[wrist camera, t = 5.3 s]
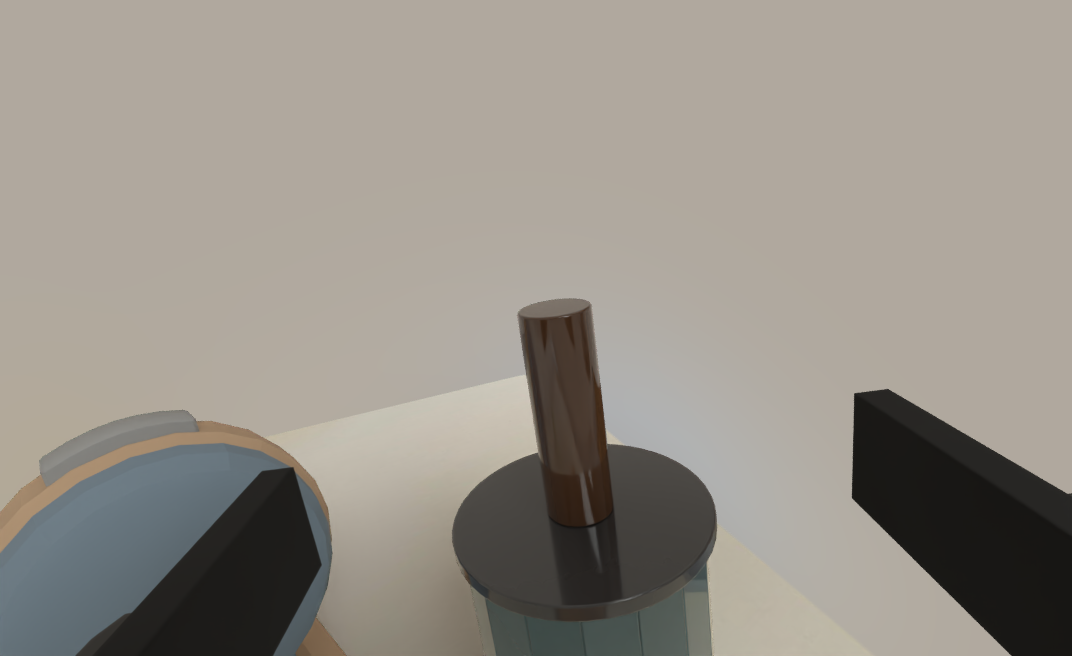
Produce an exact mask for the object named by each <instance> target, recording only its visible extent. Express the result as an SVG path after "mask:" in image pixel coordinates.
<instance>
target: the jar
mask: <svg viewBox="0 0 1072 656" xmlns="http://www.w3.org/2000/svg"><path fill="white" fill-rule="evenodd" d="M470 587H471V591H472V596H473V601H474V606H475V611H476V616H477V621H478V626H479V631H480V635H481V640H482V645H483V650H484V655H485V656H714V645H713V628H712V612H711V595H710V579H709V562H708V560H707V562H706V564H705V565H704V567H703V568H702V569H701V570H700V572H699V573H698V574H697V575H696V577H694V578H693V579H692V580H691V581H690V582H689V583H688V584H687V585H686V586H685V587H683V588H682V589H681V590H679V591H678V592H676V593H675V594H673V595H672V596H670V597H669V598H667V599H665V600H663V601H661V602H659V603H657V604H655V605H653V606H651V607H648V608H645V609H643V610H640V611H637V612H634V613H632V614H628V615H623V616H619V617H615V618H611V619H604V620H597V621H588V622H561V621H547V620H542V619H537V618H532V617H527V616H524V615H521V614H517V613H514V612H511V611H509V610H507V609H504V608H502V607H500V606H498V605H496V604H494V603H492V602H491V601H489V600H488V599H486V598H485V597H483V596H482V595H481V594H480V593H478V592H477V591H476V590H475V589H474V588H473V587H472V586H471V585H470Z"/></svg>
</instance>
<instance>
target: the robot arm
mask: <svg viewBox="0 0 1072 656" xmlns="http://www.w3.org/2000/svg"><path fill="white" fill-rule="evenodd" d="M852 476H853V477H852V499H853V500H855V502H856V503H857V504H859V506H860V507H861V508H862V509H864V511H866V512H867V513H868V514H869V515H870V516H871V517H872V518H873V519H874V520H875V521H876V522H877V523H878V524H879V525H880V526H881V527H882V528H883V529H884V530H885V531H886V532H887V533H888V534H889V535H890V536H891V537H892V538H893V539H894V540H895V541H896V542H897V543H898V544H899V545H900V546H901V547H902V548H903V549H904V550H905V551H906V552H907V553H908V554H909V555H910V556H911V557H912V558H913V559H914V560H915V561H916V562H917V563H918V564H919V565H920V566H921V567H922V568H923V569H924V570H925V571H926V572H927V573H928V574H929V575H931V577H932V578H933V579H934V580H935V581H936V582H937V583H939V585H940V586H941V587H942V588H943V589H945V590H946V591H947V592H948V593H949V594H950V595H951V596H952V597H953V598H954V599H955V600H956V601H957V602H958V603H959V604H960V605H961V606H962V607H963V608H964V609H965V610H966V611H967V612H968V613H969V614H970V615H971V616H972V617H973V618H974V619H975V620H976V621H977V622H978V623H979V624H980V625H981V626H982V627H983V628H984V629H985V630H986V631H987V632H988V633H989V634H990V635H991V636H992V637H993V638H994V639H995V640H996V641H997V642H998V643H999V644H1000V645H1001V646H1002V647H1003V648H1004V649H1005V650H1006V651H1007V652H1008V653H1009V654H1010V655H1011V656H1072V493H1071V494H1067V493H1065V492H1063V491H1062V490H1060V489H1058V488H1057V487H1055V486H1053V485H1051V484H1049V483H1048V482H1046V481H1044V480H1043V479H1041V478H1039V477H1038V476H1036V475H1034V474H1033V473H1031V472H1029V471H1027V470H1026V469H1024V468H1022V467H1021V466H1019V465H1017V464H1015V463H1014V462H1012V461H1010V460H1008V459H1007V458H1005V457H1003V456H1002V455H1000V454H998V453H997V452H995V451H993V450H991V449H990V448H988V447H986V446H985V445H983V444H981V443H979V442H978V441H976V440H974V439H973V438H971V437H969V436H967V435H966V434H964V433H962V432H960V431H959V430H957V429H956V428H954V427H952V426H950V425H949V424H947V423H945V422H944V421H942V420H940V419H938V418H937V417H935V416H933V415H932V414H930V413H928V412H926V411H925V410H923V409H921V408H920V407H918V406H916V405H914V404H913V403H911V402H909V401H907V400H906V399H904V398H902V397H901V396H899V395H897V394H896V393H894V392H892V391H890V390H889V389H885V390H877V391H869V392H862V393H855V394H854V434H853V475H852ZM321 566H322V563H321V560H320V556H319V553H318V550H317V546H316V543H315V539H314V536H313V532H312V529H311V525H310V522H309V518H308V515H307V512H306V508H305V505H304V501H303V498H302V494H301V491H300V487H299V484H298V481H297V477H296V474H295V470H294V467H288V468H281V469H273V470H265V471H261V472H260V473H259V474H258V476H257V477H256V478H255V479H254V480H253V481H252V482H251V483H250V484H249V485H248V486H247V488H246V489H245V490H244V491H243V492H242V493H241V494H240V495H239V496H238V497H237V498H236V500H235V501H234V502H233V503H232V504H231V505H230V506H229V507H228V508H227V509H226V510H225V512H224V513H223V514H222V515H221V516H220V517H219V518H218V519H217V520H216V521H215V522H214V524H213V525H212V526H211V527H210V528H209V529H208V530H207V531H206V532H205V533H204V534H203V536H202V537H201V538H200V539H199V540H198V541H197V542H196V543H195V544H194V545H193V546H192V548H191V549H190V550H189V551H188V552H187V553H186V554H185V555H184V556H183V557H182V558H181V560H180V561H179V562H178V563H177V564H176V565H175V566H174V567H173V568H172V569H171V570H170V572H169V573H168V574H167V575H166V576H165V577H164V578H163V579H162V580H161V581H160V582H159V584H158V585H157V586H156V587H155V588H154V589H153V590H152V591H151V592H150V593H149V594H148V596H147V597H146V598H145V599H144V600H143V601H142V602H141V603H140V604H139V605H138V606H137V608H136V609H135V610H134V611H133V612H132V613H127V614H124V615H123V616H121V617H120V618H119V619H117V620H116V621H115V622H113V623H112V624H111V625H109V626H108V627H107V628H105V629H104V630H103V631H101V632H100V633H99V634H97V635H96V636H94V637H93V638H92V639H91V640H90V641H89V642H88V643H87V644H86V645H85V646H84V647H83V648H82V649H81V650H80V651H79V652H78V653H77V654H76V655H75V656H273V655H274V653H275V651H276V649H277V648H278V646H279V644H280V642H281V640H282V638H283V636H284V635H285V633H286V631H287V629H288V627H289V625H290V623H291V622H292V620H293V618H294V616H295V614H296V612H297V610H298V609H299V607H300V605H301V603H302V601H303V599H304V597H305V595H306V594H307V592H308V590H309V588H310V586H311V584H312V582H313V581H314V579H315V577H316V575H317V573H318V571H319V569H320V568H321Z"/></svg>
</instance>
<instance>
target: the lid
mask: <svg viewBox="0 0 1072 656" xmlns="http://www.w3.org/2000/svg"><path fill="white" fill-rule="evenodd" d="M517 316H518V323H519V329H520V335H521V343H522V350H523V356H524V363H525V369H526V376H527V383H528V389H529V396H530V402H531V409H532V416H533V422H534V429H535V435H536V442H537V449H538V453H535V454H532V455H529V456H527V457H524V458H521V459H519V460H517V461H514V462H512V463H510V464H508V465H506V466H504V467H502V468H500V469H499V470H497V471H496V472H494V473H493V474H491V475H489V476H488V477H487V478H486V479H484V480H483V481H482V482H480V483H479V484H478V485H477V486H476V487H475V488H474V489H473V490H472V491H471V492H470V493H469V495H468V496H467V497H466V498H465V500H464V501H463V503H462V504H461V506H460V508H459V509H458V512H457V514H456V517H455V520H454V524H453V530H452V543H453V547H454V552H455V556H456V561H457V564H458V566H459V568H460V570H461V573H462V574H463V576H464V577H465V578H466V580H467V581H468V582H469V584H470V585H471V586H472V587H473V588H474V589H475V590H476V591H477V592H478V593H480V594H481V595H482V596H483V597H485V598H486V599H488V600H489V601H491V602H492V603H494V604H496V605H498V606H500V607H502V608H504V609H507V610H509V611H511V612H514V613H517V614H521V615H524V616H527V617H532V618H537V619H542V620H547V621H561V622H588V621H597V620H604V619H611V618H615V617H619V616H623V615H628V614H632V613H634V612H637V611H640V610H643V609H645V608H648V607H651V606H653V605H655V604H657V603H659V602H661V601H663V600H665V599H667V598H669V597H670V596H672V595H673V594H675V593H676V592H678V591H679V590H681V589H682V588H683V587H685V586H686V585H687V584H688V583H689V582H690V581H691V580H692V579H693V578H694V577H696V575H697V574H698V573H699V572H700V570H701V569H702V568H703V567H704V565H705V564H706V562H707V560H708V558H709V557H710V555H711V553H712V551H713V548H714V544H715V541H716V534H717V518H716V510H715V505H714V502H713V499H712V496H711V494H710V493H709V491H708V489H707V488H706V486H705V485H704V483H703V482H702V481H701V480H700V479H699V478H698V477H697V476H696V475H695V474H694V473H693V472H691V471H690V470H689V469H688V468H686V467H684V466H683V465H681V464H680V463H678V462H676V461H674V460H672V459H670V458H668V457H666V456H663V455H661V454H658V453H655V452H652V451H648V450H645V449H641V448H636V447H631V446H623V445H613V444H607V438H606V429H605V420H604V412H603V403H602V394H601V385H600V376H599V368H598V358H597V349H596V341H595V332H594V323H593V314H592V305H591V304H590V302H589V301H586V300H582V299H555V300H549V301H543V302H538V303H535V304H531V305H529V306H526V307H524V308H522V309H521V310H519V311H518V314H517Z"/></svg>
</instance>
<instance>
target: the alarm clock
mask: <svg viewBox="0 0 1072 656" xmlns="http://www.w3.org/2000/svg"><path fill="white" fill-rule="evenodd" d="M39 463H40V474H41V475H40V476H38V477H37V478H36V479H34V480H33V481H31V482H30V483H29V484H27V485H26V486H24V487H23V488H22V489H21V490H20V491H19V492H18V493H17V494H16V495H15V496H14V498H12V500H11V501H10V502H9V503H8V504H7V505H6V506H5V507H4V509H3V510H2V511H1V512H0V656H75V655H76V654H77V653H78V652H79V651H80V650H81V649H82V648H83V647H84V646H85V645H86V644H87V643H88V642H89V641H90V640H91V639H92V638H93V637H94V636H96V635H97V634H99V633H100V632H101V631H103V630H104V629H105V628H107V627H108V626H109V625H111V624H112V623H113V622H115V621H116V620H117V619H119V618H120V617H121V616H123V615H124V614H127V613H132V612H133V611H134V610H135V609H136V608H137V606H138V605H139V604H140V603H141V602H142V601H143V600H144V599H145V598H146V597H147V596H148V594H149V593H150V592H151V591H152V590H153V589H154V588H155V587H156V586H157V585H158V584H159V582H160V581H161V580H162V579H163V578H164V577H165V576H166V575H167V574H168V573H169V572H170V570H171V569H172V568H173V567H174V566H175V565H176V564H177V563H178V562H179V561H180V560H181V558H182V557H183V556H184V555H185V554H186V553H187V552H188V551H189V550H190V549H191V548H192V546H193V545H194V544H195V543H196V542H197V541H198V540H199V539H200V538H201V537H202V536H203V534H204V533H205V532H206V531H207V530H208V529H209V528H210V527H211V526H212V525H213V524H214V522H215V521H216V520H217V519H218V518H219V517H220V516H221V515H222V514H223V513H224V512H225V510H226V509H227V508H228V507H229V506H230V505H231V504H232V503H233V502H234V501H235V500H236V498H237V497H238V496H239V495H240V494H241V493H242V492H243V491H244V490H245V489H246V488H247V486H248V485H249V484H250V483H251V482H252V481H253V480H254V479H255V478H256V477H257V476H258V474H259V473H260V472H261V471H265V470H273V469H281V468H288V467H294V470H295V474H296V477H297V481H298V484H299V487H300V491H301V494H302V498H303V501H304V505H305V508H306V512H307V515H308V518H309V522H310V525H311V529H312V532H313V536H314V539H315V543H316V546H317V550H318V553H319V556H320V560H321V563H322V566H321V568H320V569H319V571H318V573H317V575H316V577H315V579H314V581H313V582H312V584H311V586H310V588H309V590H308V592H307V594H306V595H305V597H304V599H303V601H302V603H301V605H300V607H299V609H298V610H297V612H296V614H295V616H294V618H293V620H292V622H291V623H290V625H289V627H288V629H287V631H286V633H285V635H284V636H283V638H282V640H281V642H280V644H279V646H278V648H277V649H276V651H275V653H274V655H273V656H346V654H345V653H344V652H343V651H342V649H341V648H340V647H339V646H338V644H337V643H336V642H335V641H334V639H333V638H332V637H331V636H330V634H329V633H328V632H327V631H326V630H325V628H324V627H323V626H322V625H321V623H320V622H319V621H318V620H317V618H316V615H317V612H318V610H319V607H320V604H321V602H322V599H323V597H324V594H325V591H326V589H327V586H328V580H329V573H330V566H331V559H332V546H331V541H332V538H331V529H330V521H329V513H328V507H327V505H326V503H325V501H324V499H323V496H322V494H321V492H320V490H319V488H318V485H317V483H316V481H315V480H314V479H313V478H312V476H311V475H310V474H309V473H308V472H307V471H306V470H305V469H304V468H303V467H302V466H301V465H300V464H299V463H298V462H297V461H296V460H295V459H294V457H292V456H291V455H290V454H288V453H287V452H286V451H284V450H283V449H282V448H280V447H279V446H278V445H276V444H274V443H272V442H270V441H268V440H267V439H265V438H263V437H261V436H259V435H257V434H255V433H253V432H252V431H250V430H248V429H243V428H239V427H234V426H230V425H226V424H221V423H217V422H213V421H196V419H195V418H194V417H193V416H192V415H191V414H190V413H189V412H188V411H185V410H176V411H160V412H153V413H148V414H141V415H136V416H132V417H128V418H124V419H120V420H116V421H113V422H110V423H108V424H105V425H102V426H100V427H97V428H95V429H92V430H90V431H88V432H86V433H84V434H82V435H80V436H78V437H76V438H74V439H72V440H70V441H68V442H66V443H64V444H63V445H61V446H59V447H58V448H56V449H55V450H53V451H51V452H50V453H48V454H47V455H45V456H43V457H42V458H41V459H40V460H39Z"/></svg>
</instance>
